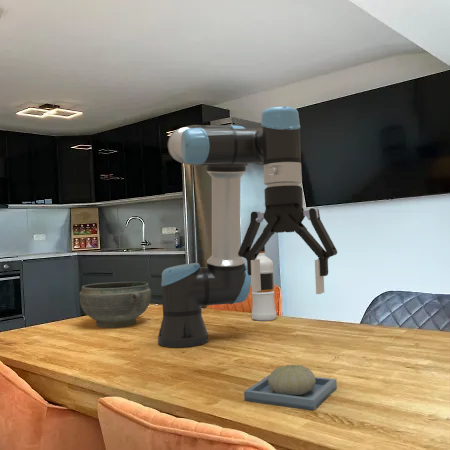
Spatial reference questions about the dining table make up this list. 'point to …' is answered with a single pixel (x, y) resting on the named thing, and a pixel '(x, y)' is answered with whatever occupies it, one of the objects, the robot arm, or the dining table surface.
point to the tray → (306, 401)
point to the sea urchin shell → (291, 380)
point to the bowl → (115, 302)
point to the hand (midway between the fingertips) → (287, 292)
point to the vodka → (264, 291)
